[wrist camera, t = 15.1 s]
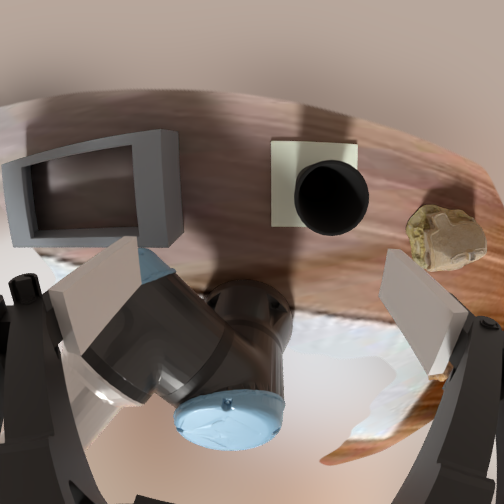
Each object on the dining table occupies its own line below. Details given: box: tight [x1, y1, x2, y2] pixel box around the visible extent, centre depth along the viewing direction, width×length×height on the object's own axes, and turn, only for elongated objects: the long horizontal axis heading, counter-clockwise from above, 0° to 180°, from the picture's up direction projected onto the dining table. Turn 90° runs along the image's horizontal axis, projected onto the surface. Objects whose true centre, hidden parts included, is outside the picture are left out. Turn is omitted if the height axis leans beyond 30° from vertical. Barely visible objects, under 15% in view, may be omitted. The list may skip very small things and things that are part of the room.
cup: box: [294, 160, 369, 236], centre depth 33 cm, size 8×8×12 cm
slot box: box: [2, 129, 184, 248], centre depth 39 cm, size 15×32×7 cm, turn 91°
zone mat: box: [271, 141, 358, 227], centre depth 39 cm, size 12×12×1 cm
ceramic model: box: [406, 205, 487, 272], centre depth 36 cm, size 14×11×10 cm
